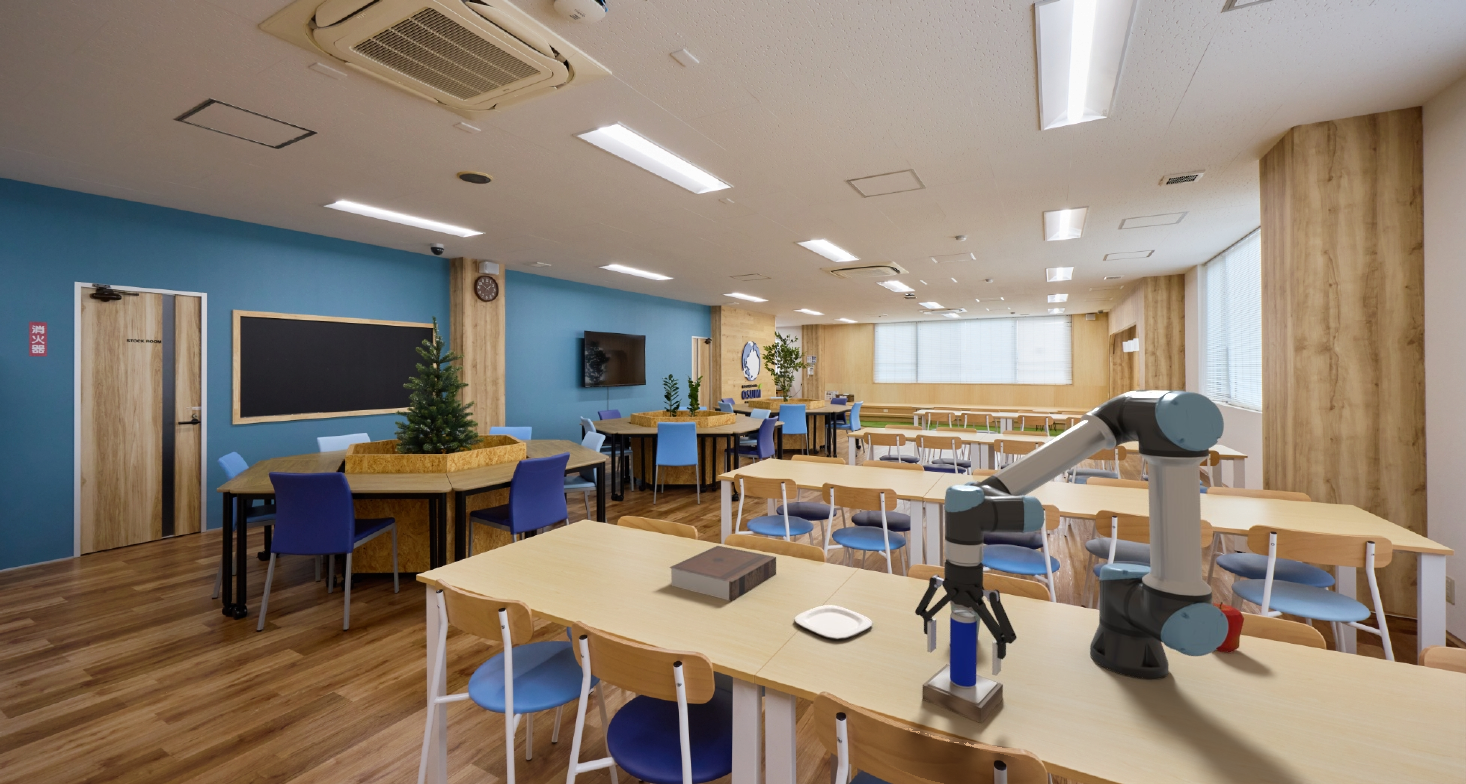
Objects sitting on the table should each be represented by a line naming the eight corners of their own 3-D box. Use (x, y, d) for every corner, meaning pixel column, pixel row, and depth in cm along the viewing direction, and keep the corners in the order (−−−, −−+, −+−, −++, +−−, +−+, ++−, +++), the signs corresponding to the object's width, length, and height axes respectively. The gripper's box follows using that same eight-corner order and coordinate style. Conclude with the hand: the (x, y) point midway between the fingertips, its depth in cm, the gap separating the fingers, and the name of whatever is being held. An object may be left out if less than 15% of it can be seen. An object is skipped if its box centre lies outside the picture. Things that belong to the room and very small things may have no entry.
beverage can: (969, 675, 121) (969, 607, 120) (980, 689, 116) (981, 617, 115) (945, 676, 121) (946, 607, 120) (956, 690, 115) (956, 618, 115)
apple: (1232, 643, 143) (1233, 597, 142) (1250, 658, 135) (1251, 609, 134) (1191, 638, 145) (1192, 592, 145) (1207, 652, 138) (1207, 605, 137)
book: (776, 575, 194) (776, 556, 193) (732, 603, 170) (732, 581, 170) (717, 563, 207) (717, 545, 207) (669, 587, 183) (669, 567, 183)
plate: (837, 648, 141) (837, 641, 141) (786, 624, 155) (786, 618, 155) (880, 627, 153) (880, 621, 153) (829, 607, 167) (829, 601, 167)
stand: (1002, 698, 118) (1002, 682, 118) (980, 723, 110) (980, 706, 110) (946, 677, 127) (946, 662, 127) (922, 698, 118) (922, 683, 118)
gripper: (1034, 570, 111) (1033, 675, 112) (915, 544, 129) (915, 635, 129) (1021, 580, 106) (1020, 690, 107) (899, 551, 123) (899, 647, 124)
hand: (962, 661), depth 118 cm, fingers open, 13 cm apart
